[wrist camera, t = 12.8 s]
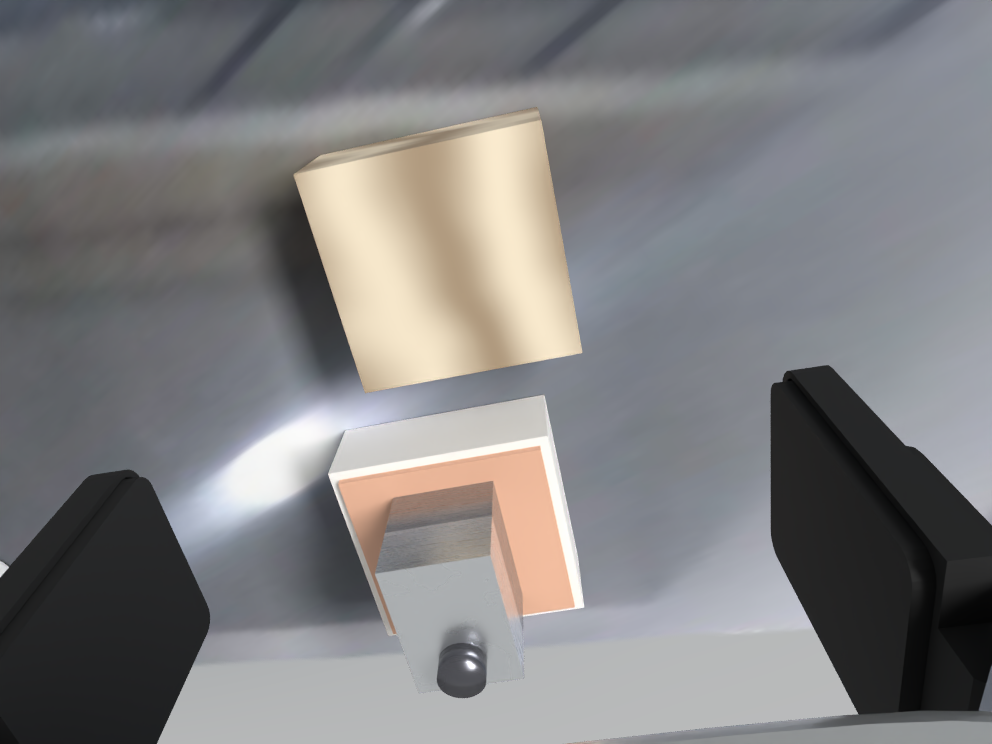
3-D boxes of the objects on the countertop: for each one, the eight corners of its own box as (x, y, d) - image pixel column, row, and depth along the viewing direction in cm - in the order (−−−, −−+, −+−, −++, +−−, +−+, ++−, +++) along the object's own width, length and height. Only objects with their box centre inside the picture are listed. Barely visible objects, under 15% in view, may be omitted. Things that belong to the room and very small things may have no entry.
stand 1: (380, 351, 41) (365, 393, 36) (320, 155, 36) (293, 174, 32) (574, 315, 40) (582, 352, 35) (537, 107, 35) (541, 119, 31)
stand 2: (398, 583, 48) (387, 641, 44) (345, 430, 43) (326, 478, 39) (577, 555, 47) (584, 612, 43) (544, 394, 42) (548, 439, 37)
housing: (393, 497, 39) (370, 592, 33) (493, 480, 39) (489, 573, 32) (430, 607, 43) (416, 713, 36) (522, 593, 42) (524, 698, 36)
